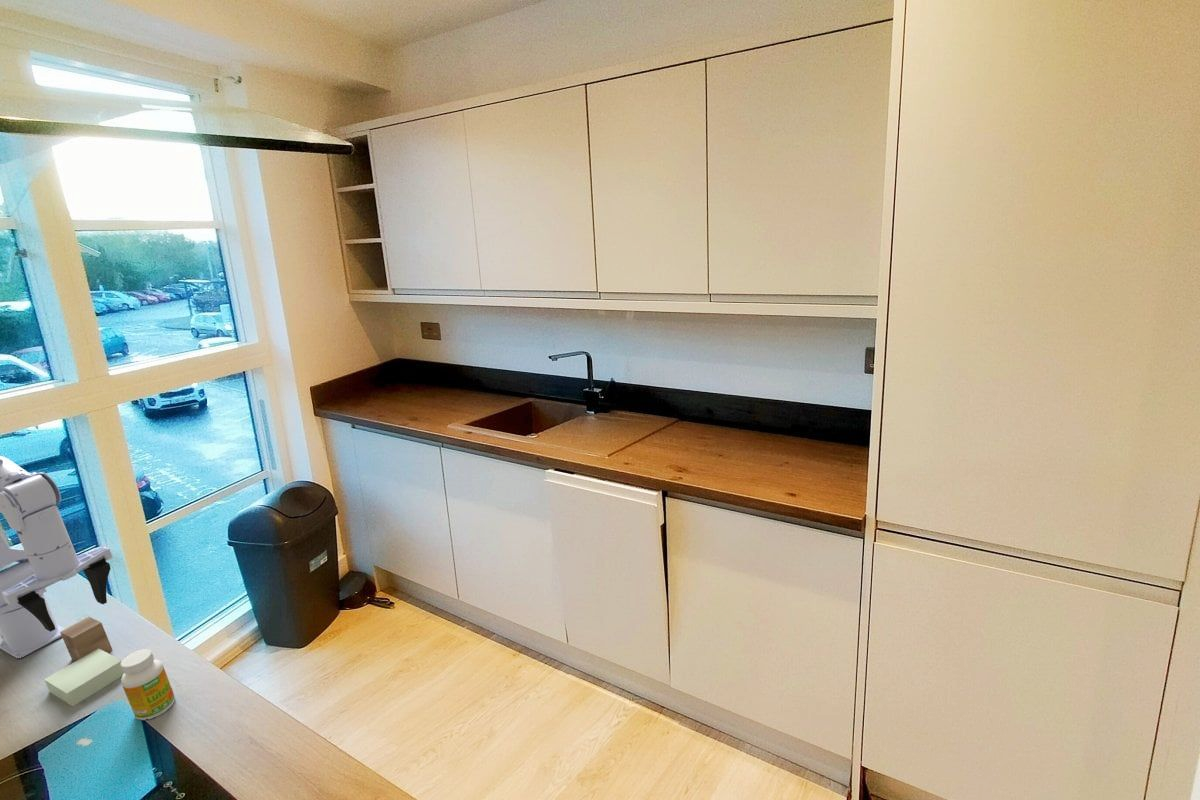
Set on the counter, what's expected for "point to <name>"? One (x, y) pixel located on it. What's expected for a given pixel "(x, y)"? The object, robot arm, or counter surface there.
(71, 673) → the sage block
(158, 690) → the supplement bottle
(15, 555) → the robot arm
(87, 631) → the walnut block
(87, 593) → the counter surface
